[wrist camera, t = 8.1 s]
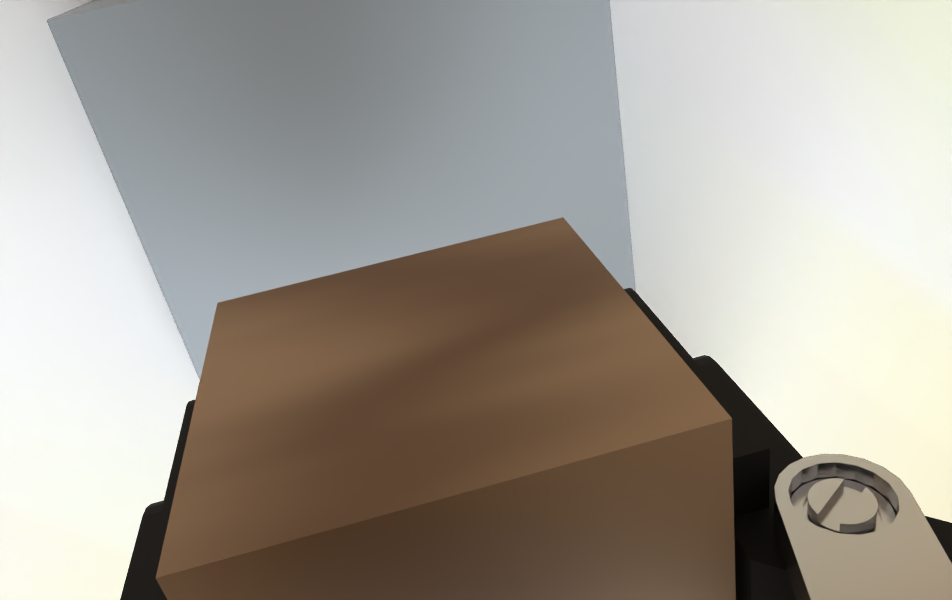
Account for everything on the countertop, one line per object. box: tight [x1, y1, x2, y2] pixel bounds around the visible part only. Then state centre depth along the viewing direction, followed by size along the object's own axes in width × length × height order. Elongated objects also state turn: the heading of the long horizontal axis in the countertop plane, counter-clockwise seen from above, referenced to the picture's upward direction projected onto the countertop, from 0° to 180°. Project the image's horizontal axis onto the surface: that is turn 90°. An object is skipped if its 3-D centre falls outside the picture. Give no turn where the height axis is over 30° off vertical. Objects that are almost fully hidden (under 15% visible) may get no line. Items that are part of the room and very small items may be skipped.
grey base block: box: [47, 0, 636, 379], centre depth 21 cm, size 12×12×4 cm
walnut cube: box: [156, 217, 736, 600], centre depth 10 cm, size 5×5×5 cm
